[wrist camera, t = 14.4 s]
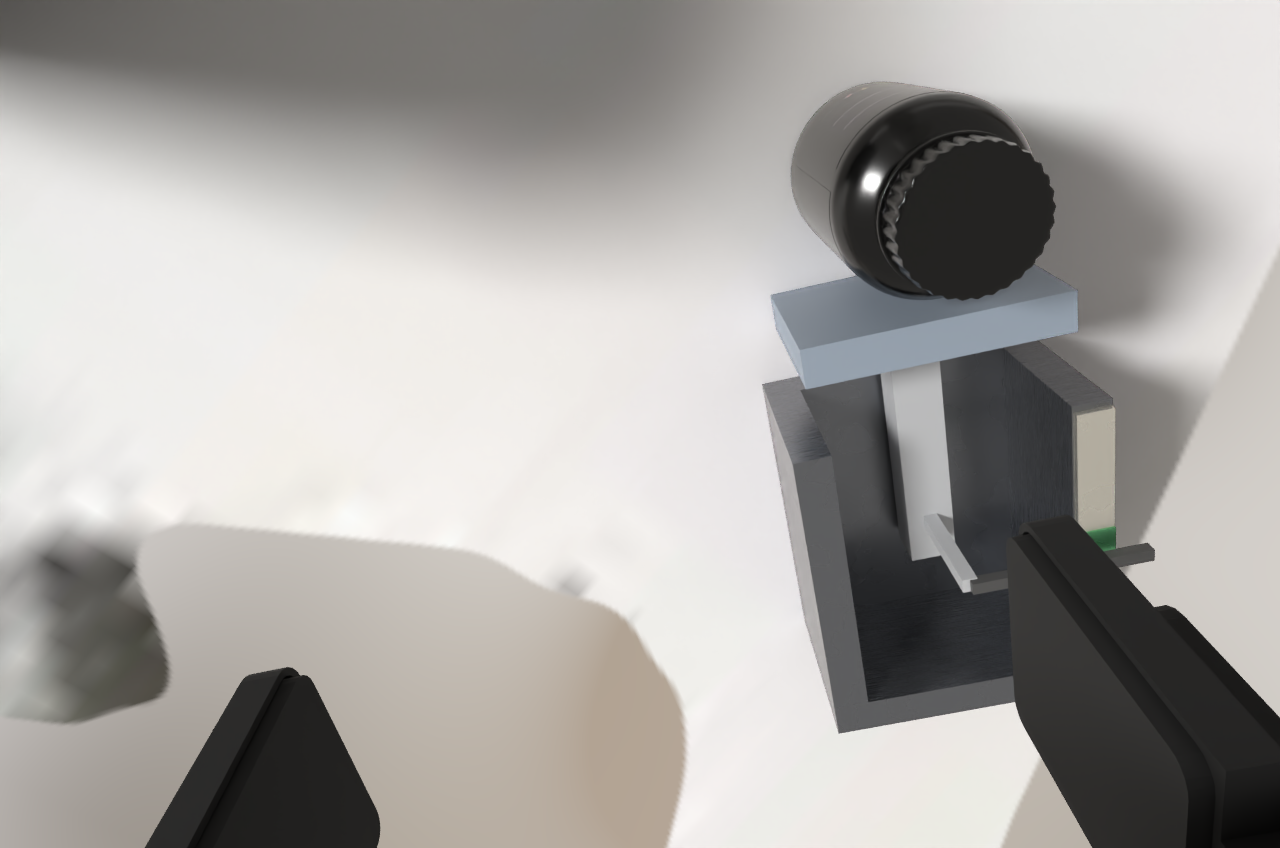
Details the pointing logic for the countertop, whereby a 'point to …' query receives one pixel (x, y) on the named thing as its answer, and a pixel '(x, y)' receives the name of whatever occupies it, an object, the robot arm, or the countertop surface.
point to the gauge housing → (982, 516)
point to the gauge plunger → (922, 382)
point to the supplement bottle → (922, 191)
